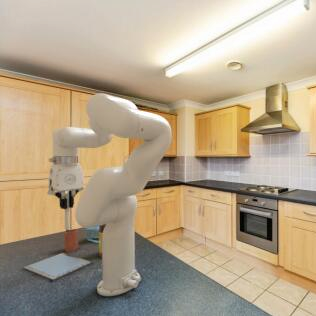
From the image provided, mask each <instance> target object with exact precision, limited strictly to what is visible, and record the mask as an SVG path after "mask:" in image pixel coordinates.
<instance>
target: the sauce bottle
mask: <svg viewBox="0 0 316 316" xmlns="http://www.w3.org/2000/svg"><path fill="white" fill-rule="evenodd" d="M105 226H106V224H104V225H101V226H99V230H98V237H99V238H98V241H99V243H98V256H99V257H101V258H102V234H103V230H104V228H105Z"/></svg>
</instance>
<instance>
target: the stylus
mask: <svg viewBox="0 0 316 316" xmlns="http://www.w3.org/2000/svg"><path fill="white" fill-rule="evenodd" d="M65 198H66V199H67V209H64V230H65V231H66V232H69V230H71V226H70V225H71V223H70V222H71V221H70V220H71V219H70V217H71V216H70V208H69V193H68V192H67V193H65Z"/></svg>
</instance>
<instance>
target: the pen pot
mask: <svg viewBox="0 0 316 316" xmlns="http://www.w3.org/2000/svg"><path fill="white" fill-rule="evenodd" d="M78 231H79V230H78V229H76V228H74V229H69V232H66V230H65V231H64V252H66V253H68V252H69V253H70V252H74V251H77V250H78V249H79V240H78V239H79V238H78V235H79V233H78Z"/></svg>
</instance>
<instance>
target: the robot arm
mask: <svg viewBox="0 0 316 316" xmlns="http://www.w3.org/2000/svg"><path fill="white" fill-rule="evenodd" d="M85 111H86V114H87V116H88V126H89V128H85V127H76V126H63V127H62V128H55V129H54V130H53V131H52V157H49V158H48V162H49V163H52V164H51V165H50V168H49V174H48V190H47V195H49V196H50V195H51V196H54V197H56V198H57V199H59V207H60V209H62V210H65V209H67V199H66V198H65V194H66V192H67V193H69V209H72V208H74V205H75V197H76V196H77V194H78V193H80V192H82V193H81V195H80V197H79V199H78V202H77V204H76V206H75V212H74V217H75V220H76V223H77V224H78V225H79V226H80V227H82V228H84V229H86V228H94V227H97V226H101V225H104V224H106V226H105V228H104V230H103V234H102V257H101V259H102V260H101V261H102V264H101V265H102V267H101V269H102V280H100V281H99V283H98V284H97V286H96V291H97V294H98V295H100V296H102V297H113V296H119V295H122V294H124V293H127V292H129V291H131V290H133V289H136V288H138V286H139V283H140V282H141V281H142V277H141V275H140V273H139V272H138V270H137V269H136V245H135V244H136V239H135V237H136V235H135V229H136V228H135V225H136V215H137V211H138V206H139V205H138V198H137V196H136V195H138V194H140V193H141V192H142V191H144V189H145V187H146V186H147V184H148V182H149V180H150V179H151V177H152V175H153V174H154V172H155V170H156V168H157V167H158V165H159V163H160V162H161V161H162V159H163V158H164V156H165V155H166V154H167V152H168V150H169V148H170V147H171V143H172V139H173V133H172V127H171V124H170V123H169V121H168V120H167V119H165V117H163V116H161V115H159V114H157V113H153V112H149V111H144V110H140V109H139V108H138V107H137V106H136V104H135V103H133V102H132V101H130V100H128V99H126V98H122V97H118V96H115V95H111V94H107V93H99V92H98V93H96V94H93V95H92V96H90V97H89V98H88V100H87V102H86V105H85ZM114 136H116V137H118V138H121V139H128V140H129V139H130V140H143V142H141V143H140V144H139V145H137V146H136V147H135V148H134V149H133V150H132V151H131V152H130V154H129V156H128V157H127V160H126V161H125V162H124V164H123V165H122V164H121V165H119V166H108V167H107V166H106V167H102V168H100V169H97V170H96V171H95V172H94V173H93V174H92V175H91V176H90V178H89V179H88V182H87V183H86V185H85V181H84V180H85V178H84V171H83V167H82V164H81V163H79V148H80V149H81V148H82V149H83V148H84V149H98V148H101V147H103V146H105V145H107V144H109V143H110V142H111V141H112V140H113V138H114ZM84 186H85V187H84Z"/></svg>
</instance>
